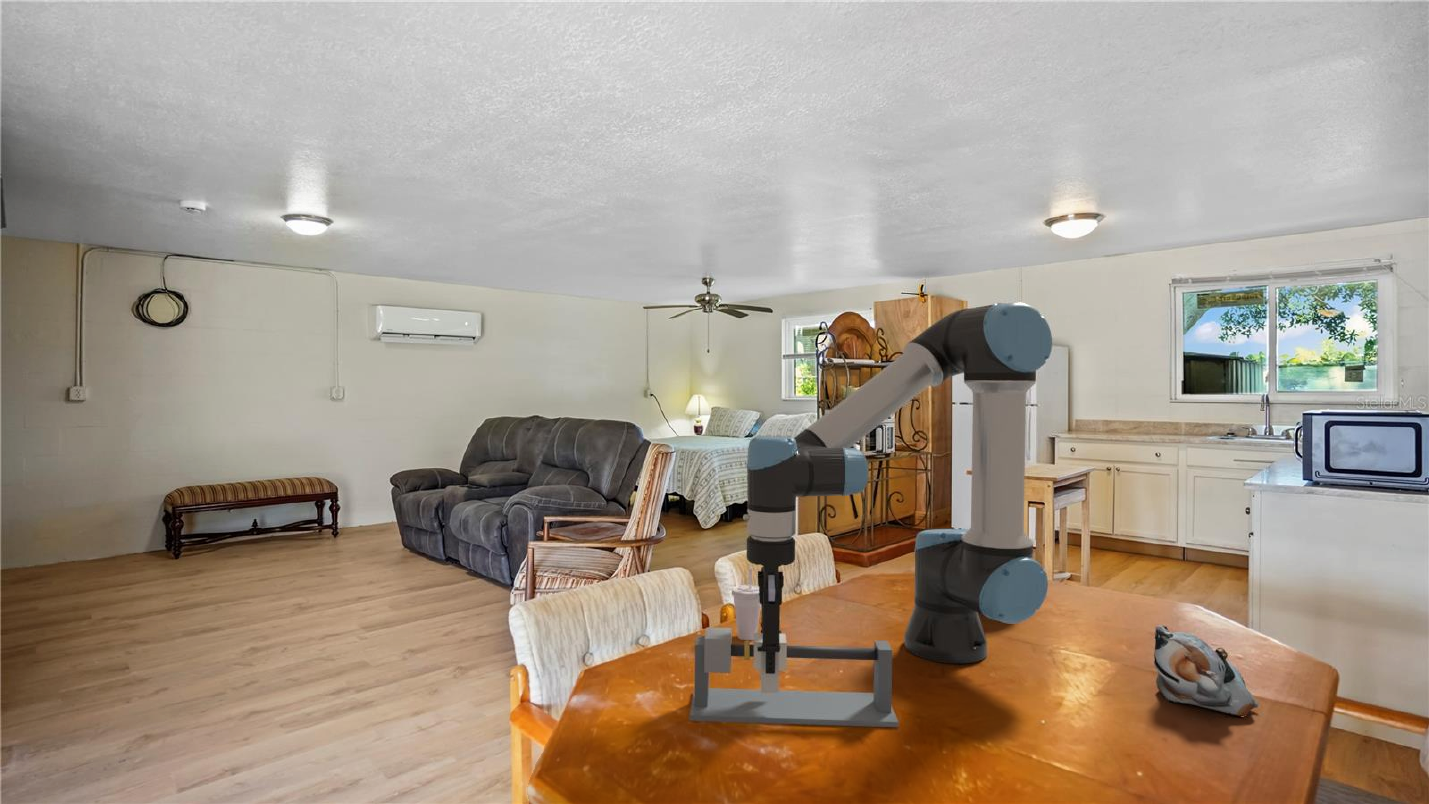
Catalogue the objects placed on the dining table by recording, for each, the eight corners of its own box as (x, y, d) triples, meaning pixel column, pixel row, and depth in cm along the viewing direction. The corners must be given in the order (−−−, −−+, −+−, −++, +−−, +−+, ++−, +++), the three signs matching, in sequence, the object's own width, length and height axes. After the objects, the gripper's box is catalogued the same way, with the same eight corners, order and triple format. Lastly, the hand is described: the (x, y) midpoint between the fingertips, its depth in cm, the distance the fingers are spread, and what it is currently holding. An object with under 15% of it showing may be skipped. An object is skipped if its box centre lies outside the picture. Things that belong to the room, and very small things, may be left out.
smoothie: (760, 644, 142) (761, 572, 142) (728, 641, 143) (729, 570, 143) (765, 633, 148) (765, 564, 148) (734, 630, 150) (734, 562, 149)
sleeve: (784, 659, 115) (785, 633, 115) (786, 670, 111) (786, 643, 111) (753, 659, 116) (753, 632, 116) (753, 669, 111) (753, 642, 111)
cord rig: (885, 698, 118) (886, 627, 117) (898, 727, 108) (899, 649, 107) (694, 692, 119) (695, 622, 119) (689, 720, 109) (690, 644, 109)
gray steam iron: (1277, 721, 111) (1260, 650, 107) (1198, 747, 112) (1179, 678, 108) (1211, 657, 125) (1195, 593, 121) (1142, 681, 126) (1124, 618, 122)
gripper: (746, 525, 122) (745, 663, 122) (746, 548, 105) (744, 709, 105) (791, 525, 121) (790, 664, 122) (799, 549, 104) (797, 711, 105)
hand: (769, 685), depth 114 cm, fingers closed on sleeve, 4 cm apart
